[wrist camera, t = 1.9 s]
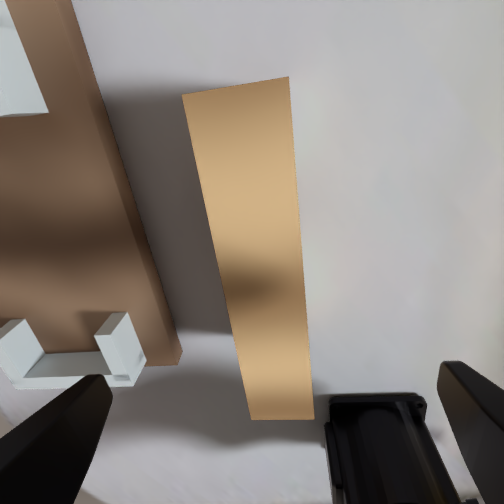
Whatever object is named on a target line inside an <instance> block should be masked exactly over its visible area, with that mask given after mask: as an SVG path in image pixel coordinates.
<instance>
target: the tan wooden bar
mask: <svg viewBox="0 0 504 504" xmlns="http://www.w3.org/2000/svg"><path fill="white" fill-rule="evenodd" d="M182 99H183V104H184V109H185V113H186V118H187V123H188V127H189V132H190V137H191V141H192V146H193V151H194V155H195V160H196V165H197V169H198V174H199V179H200V183H201V188H202V193H203V197H204V202H205V207H206V211H207V216H208V221H209V225H210V230H211V235H212V239H213V244H214V249H215V253H216V258H217V263H218V267H219V272H220V277H221V281H222V286H223V291H224V295H225V300H226V305H227V309H228V314H229V319H230V323H231V328H232V333H233V337H234V342H235V346H236V351H237V356H238V360H239V365H240V370H241V374H242V379H243V384H244V388H245V393H246V398H247V402H248V407H249V412H250V416H251V420H312V419H314V406H313V392H312V379H311V366H310V353H309V339H308V326H307V313H306V300H305V286H304V273H303V260H302V246H301V233H300V220H299V207H298V193H297V180H296V167H295V154H294V140H293V127H292V114H291V100H290V87H289V77H283V78H277V79H271V80H265V81H259V82H254V83H248V84H242V85H236V86H230V87H224V88H218V89H212V90H206V91H200V92H194V93H188V94H182Z"/></svg>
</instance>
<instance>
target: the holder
mask: <svg viewBox="0 0 504 504" xmlns="http://www.w3.org/2000/svg"><path fill="white" fill-rule="evenodd" d="M182 352H183V351H182V348H181V345H180V342H179V339H178V335H177V332H176V329H175V326H174V323H173V320H172V317H171V313H170V310H169V307H168V304H167V301H166V298H165V295H164V291H163V288H162V285H161V282H160V279H159V276H158V273H157V269H156V266H155V263H154V260H153V257H152V254H151V251H150V247H149V244H148V241H147V238H146V235H145V232H144V229H143V225H142V222H141V219H140V216H139V213H138V210H137V207H136V203H135V200H134V197H133V194H132V191H131V188H130V185H129V181H128V178H127V175H126V172H125V169H124V166H123V163H122V159H121V156H120V153H119V150H118V147H117V144H116V141H115V137H114V134H113V131H112V128H111V125H110V122H109V119H108V115H107V112H106V109H105V106H104V103H103V100H102V97H101V93H100V90H99V87H98V84H97V81H96V78H95V75H94V71H93V68H92V65H91V62H90V59H89V56H88V53H87V49H86V46H85V43H84V40H83V37H82V34H81V31H80V27H79V24H78V21H77V18H76V15H75V12H74V9H73V5H72V2H71V0H0V367H1V368H2V370H3V371H4V373H5V374H6V375H7V377H8V378H9V380H10V381H11V383H12V384H13V386H14V387H15V389H16V390H26V389H60V388H69V387H71V386H72V385H73V384H75V383H76V382H78V381H79V380H80V379H82V378H83V377H84V376H86V375H88V374H102V375H103V376H104V377H105V379H106V381H107V383H108V385H109V387H126V386H134V384H135V382H136V380H137V378H138V376H139V375H140V373H141V371H142V369H143V367H144V366H168V365H178V362H179V360H180V357H181V355H182Z"/></svg>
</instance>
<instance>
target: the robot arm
mask: <svg viewBox="0 0 504 504" xmlns="http://www.w3.org/2000/svg"><path fill="white" fill-rule="evenodd" d="M437 391H438V395H439V397H440V400H441V403H442V405H443V408H444V410H445V413H446V415H447V418H448V421H449V423H450V426H451V428H452V431H453V434H454V436H455V439H456V441H457V444H458V446H459V449H460V451H461V454H462V456H463V459H464V461H465V463H466V466H467V468H468V470H469V472H470V474H471V476H472V478H473V480H474V482H475V484H476V486H477V488H478V490H479V492H480V494H481V496H482V498H483V500H484V502H485V504H504V390H503V389H501V388H500V387H499V386H497V385H496V384H494V383H493V382H491V381H490V380H488V379H487V378H485V377H484V376H482V375H481V374H480V373H478V372H477V371H475V370H474V369H472V368H471V367H469V366H468V365H466V364H465V363H463V362H461V361H443V362H442V363H441V364H440V369H439V375H438V380H437ZM112 399H113V395H112V391H111V389H110V387H109V385H108V383H107V381H106V379H105V377H104V376H103V375H102V374H88V375H86V376H84V377H83V378H82V379H80V380H79V381H78V382H76V383H75V384H73V385H72V386H71V387H69V388H68V389H67V390H65V391H64V392H63V393H61V394H60V395H59V396H57V397H56V398H55V399H53V400H52V401H50V402H49V403H48V404H46V405H45V406H44V407H42V408H41V409H40V410H38V411H37V412H36V413H34V414H33V415H32V416H30V417H29V418H27V419H26V420H25V421H23V422H22V423H21V424H19V425H18V426H17V427H15V428H14V429H13V430H11V431H10V432H9V433H7V434H6V435H4V436H3V437H2V438H0V504H74V501H75V499H76V497H77V494H78V492H79V490H80V488H81V485H82V483H83V481H84V478H85V476H86V474H87V471H88V469H89V467H90V464H91V462H92V459H93V457H94V454H95V451H96V448H97V445H98V442H99V439H100V436H101V434H102V431H103V428H104V425H105V422H106V419H107V416H108V413H109V410H110V407H111V404H112ZM328 403H329V422H326V423H325V424H324V439H325V450H326V457H327V465H328V472H329V480H330V487H331V495H332V502H333V504H479V503H478V501H477V499H476V498H473V499H466V502H461V500H460V498H459V495H458V493H457V491H456V489H455V487H454V485H453V482H452V480H451V478H450V476H449V474H448V472H447V469H446V467H445V465H444V463H443V461H442V459H441V456H440V454H439V452H438V450H437V448H436V445H435V443H434V441H433V439H432V437H431V435H430V432H429V430H428V428H427V426H426V424H425V422H424V421H425V415H426V409H427V403H426V401H425V399H424V398H423V397H421V396H383V397H338V398H332V399H330V400H329V402H328Z"/></svg>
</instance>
